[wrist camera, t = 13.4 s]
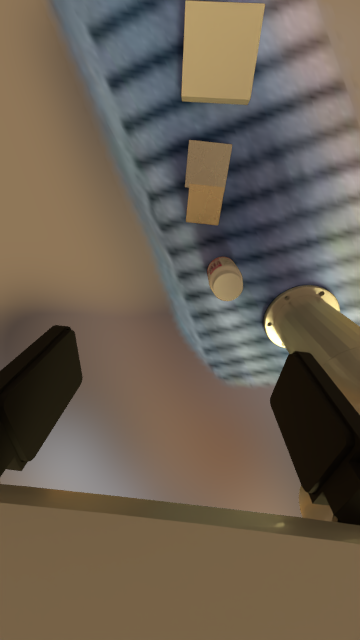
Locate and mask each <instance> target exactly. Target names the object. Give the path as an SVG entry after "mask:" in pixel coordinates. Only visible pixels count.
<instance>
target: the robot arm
mask: <svg viewBox="0 0 360 640" xmlns="http://www.w3.org/2000/svg"><path fill="white" fill-rule="evenodd" d="M285 296H286V297H285ZM268 322H269V323H268ZM264 329H265V332H266V334H267V336H268V337H269V339H270V340H271V341H272V342H273V343H275V344H276V345H278V346H280V347H283V348H286V349H287V351H288V352H289V355H288V357H287V359H286V362H285V364H284V367H283V369H282V371H281V374H280V376H279V379H278V381H277V383H276V386H275V388H274V390H273V393H272V395H271V398H270V404H271V407H272V410H273V412H274V415H275V418H276V420H277V423H278V425H279V428H280V430H281V433H282V436H283V438H284V441H285V444H286V446H287V449H288V451H289V454H290V456H291V459H292V462H293V464H294V467H295V470H296V472H297V475H298V477H299V479H300V482H301V487H300V492H299V504H300V510H301V514H302V517H303V518H301V517H292V516H284V515H275V514H267V513H258V512H250V511H242V510H234V509H225V508H217V507H208V506H199V505H190V504H181V503H173V502H164V501H155V500H145V499H137V498H128V497H120V496H110V495H101V494H91V493H82V492H72V491H64V490H54V489H44V488H36V487H27V486H16V485H15V486H14V485H4V484H0V640H360V327H359V326H358V325H357V324H355V323H354V322H353V321H351V320H350V319H349V318H347V317H346V316H344V315H343V314H342V313H340V308H339V304H338V301H337V299H336V298H335V296H334V295H333V294H332V293H330V292H329V291H327V290H326V289H324V288H321V287H319V286H313V285H302V286H298V287H294V288H292V289H289V290H287V291H285V292H283V293H282V294H280V295H279V296H278V297H277V298H275V299H274V301H273V302H272V303H271V304H270V305H269V307H268V309H267V311H266V313H265V316H264ZM81 382H82V372H81V366H80V360H79V355H78V349H77V343H76V337H75V332H74V331H73V330H71V328H70V327H68V326H58V325H55V326H53V327H51V328H50V329H49V330H48V331H47V332H45V333H44V334H43V335H42V336H41V337H40V338H38V339H37V340H36V341H35V342H34V343H33V344H32V345H30V346H29V347H28V348H27V349H26V350H24V351H23V352H22V353H21V354H20V355H19V356H18V357H16V358H15V359H14V360H13V361H12V362H10V363H9V364H8V365H7V366H6V367H4V368H3V369H2V370H1V371H0V476H1V475H2V473H3V472H4V471H5V469H9V470H18V471H22V469H23V468H24V466H25V465H26V463H27V462H28V461H31V460H32V459H33V458H34V457H35V456H36V454H37V452H38V451H39V449H40V448H41V446H42V445H43V443H44V442H45V440H46V438H47V437H48V435H49V434H50V432H51V430H52V429H53V427H54V426H55V424H56V422H57V421H58V419H59V418H60V416H61V415H62V413H63V412H64V410H65V408H66V407H67V405H68V404H69V402H70V400H71V399H72V397H73V395H74V394H75V393H76V391H77V389H78V388H79V386H80V384H81Z"/></svg>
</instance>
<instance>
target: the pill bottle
mask: <svg viewBox="0 0 360 640" xmlns="http://www.w3.org/2000/svg"><path fill="white" fill-rule="evenodd" d="M207 274H208V280H209V285H210V288H211V290H212V291H213V293H214V294H215V296H216V297H217V298H219V299H220V300H223V301H231V300H234V299H235V298H237V297H238V296H239V295H240V294H241V292H242V289H243V282H242V281H243V280H242V275H241V272H240V271H239V269H238V268H237V266H236V265H235V263H234V262H233V261H232V260H231V259H230V258H227V257H218V258H215V259H214V260H213V261H212V262H211V263H210V264H209V266H208V270H207Z"/></svg>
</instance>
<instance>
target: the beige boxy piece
mask: <svg viewBox="0 0 360 640" xmlns="http://www.w3.org/2000/svg"><path fill="white" fill-rule="evenodd" d="M231 150H232V144H223V143H214V142H205V141H196V140H189V147H188V158H187V169H186V180H185V187H186V188H189V196H188V206H187V216H186V222H192V223H201V224H210V225H218V224H219V218H220V212H221V206H222V200H223V194H224V191H225V185H226V179H227V173H228V167H229V161H230V156H231Z"/></svg>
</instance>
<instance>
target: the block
mask: <svg viewBox="0 0 360 640" xmlns="http://www.w3.org/2000/svg"><path fill="white" fill-rule="evenodd" d="M264 8H265V4H258V3H233V2H209V1H186V3H185V26H184V49H183V72H182V95H181V96H182V101H184V102H203V103H221V104H240V105H248V103H249V101H250V97H251V91H252V84H253V78H254V72H255V65H256V59H257V52H258V46H259V40H260V33H261V27H262V21H263V14H264Z"/></svg>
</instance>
